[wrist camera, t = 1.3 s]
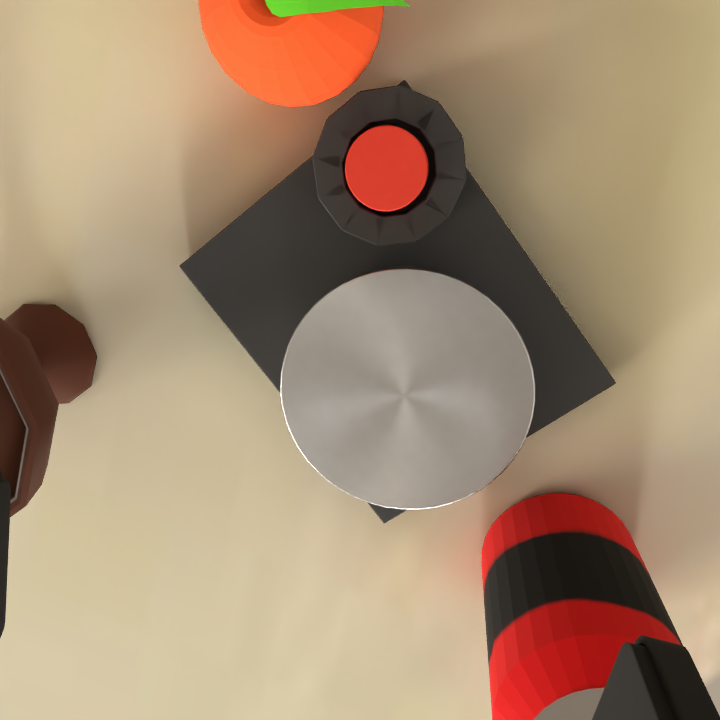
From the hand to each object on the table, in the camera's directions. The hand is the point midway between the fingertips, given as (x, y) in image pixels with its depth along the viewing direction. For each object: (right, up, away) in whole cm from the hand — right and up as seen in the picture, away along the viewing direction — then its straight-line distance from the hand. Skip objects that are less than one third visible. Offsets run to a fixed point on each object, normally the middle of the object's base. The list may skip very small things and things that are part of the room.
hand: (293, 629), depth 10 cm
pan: (+3, +3, +19) cm, 20 cm away
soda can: (+11, -6, +24) cm, 27 cm away
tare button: (+2, +12, +17) cm, 21 cm away
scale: (+3, +6, +22) cm, 23 cm away
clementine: (-1, +18, +19) cm, 26 cm away
